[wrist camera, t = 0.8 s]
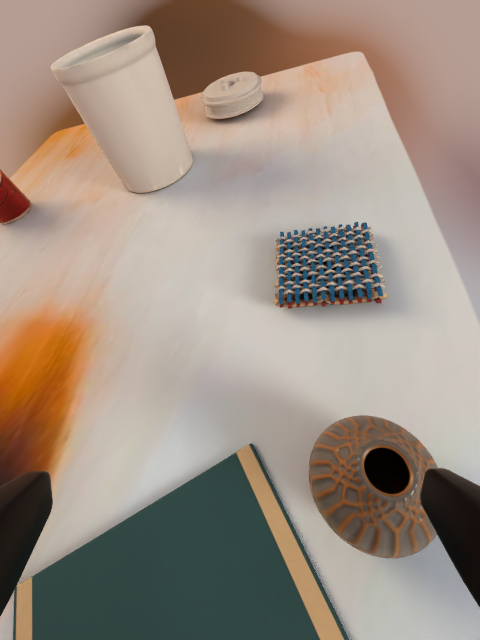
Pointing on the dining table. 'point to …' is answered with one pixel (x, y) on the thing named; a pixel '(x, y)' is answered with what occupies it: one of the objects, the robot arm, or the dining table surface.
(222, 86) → the lid
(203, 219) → the dining table surface
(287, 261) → the woven mat
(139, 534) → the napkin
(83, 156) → the dining table surface
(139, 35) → the utensil holder
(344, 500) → the vase
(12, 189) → the soda can
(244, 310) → the dining table surface
